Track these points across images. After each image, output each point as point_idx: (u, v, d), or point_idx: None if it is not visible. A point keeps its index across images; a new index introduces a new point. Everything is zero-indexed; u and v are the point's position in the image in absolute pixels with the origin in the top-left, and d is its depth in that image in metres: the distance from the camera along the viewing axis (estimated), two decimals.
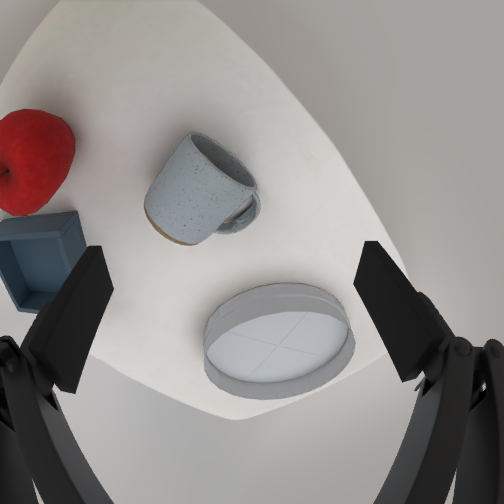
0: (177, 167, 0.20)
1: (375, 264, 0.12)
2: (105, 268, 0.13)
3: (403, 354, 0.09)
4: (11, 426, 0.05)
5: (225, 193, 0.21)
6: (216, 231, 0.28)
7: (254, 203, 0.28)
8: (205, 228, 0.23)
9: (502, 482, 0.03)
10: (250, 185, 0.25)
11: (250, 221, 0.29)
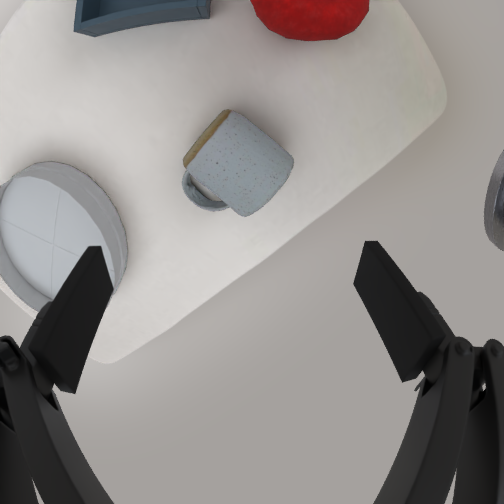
0: (272, 156, 0.23)
1: (375, 264, 0.12)
2: (105, 268, 0.13)
3: (403, 354, 0.09)
4: (11, 426, 0.05)
5: (250, 201, 0.24)
6: (186, 174, 0.27)
7: (213, 203, 0.30)
8: (209, 179, 0.23)
9: (502, 482, 0.03)
10: None
11: (195, 202, 0.30)
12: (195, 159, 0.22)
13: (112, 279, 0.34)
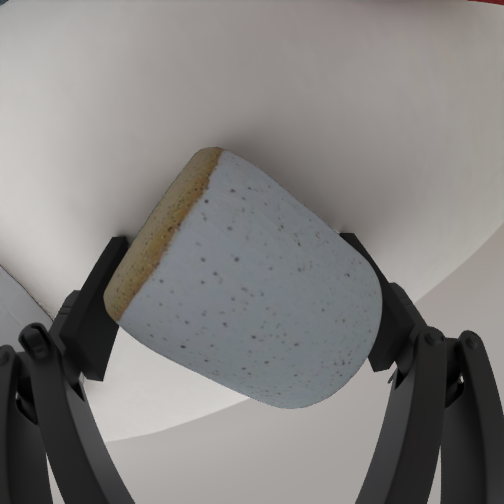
0: (344, 305, 0.08)
1: None
2: None
3: (374, 343, 0.10)
4: (31, 418, 0.06)
5: (276, 402, 0.09)
6: None
7: None
8: (172, 360, 0.08)
9: (490, 478, 0.03)
10: None
11: None
12: (123, 324, 0.07)
13: None
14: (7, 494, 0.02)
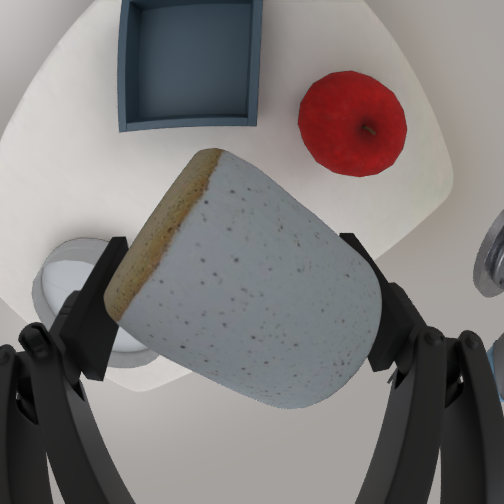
0: (344, 305, 0.08)
1: None
2: None
3: (374, 343, 0.10)
4: (31, 418, 0.06)
5: (275, 402, 0.09)
6: None
7: None
8: (172, 360, 0.08)
9: (490, 478, 0.03)
10: None
11: None
12: (123, 324, 0.07)
13: None
14: (7, 494, 0.02)
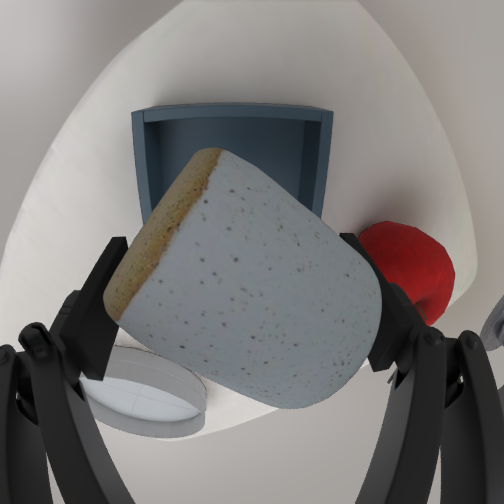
0: (344, 305, 0.08)
1: None
2: None
3: (374, 343, 0.10)
4: (31, 418, 0.06)
5: (275, 402, 0.09)
6: None
7: None
8: (172, 360, 0.08)
9: (490, 478, 0.03)
10: None
11: None
12: (122, 324, 0.07)
13: (192, 413, 0.41)
14: (7, 494, 0.02)
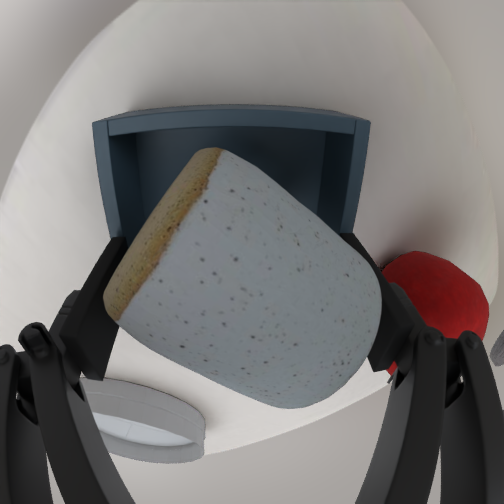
0: (343, 305, 0.08)
1: None
2: None
3: (374, 343, 0.10)
4: (31, 418, 0.06)
5: (275, 402, 0.09)
6: None
7: None
8: None
9: (490, 478, 0.03)
10: None
11: None
12: (122, 323, 0.07)
13: (190, 440, 0.37)
14: (7, 494, 0.02)
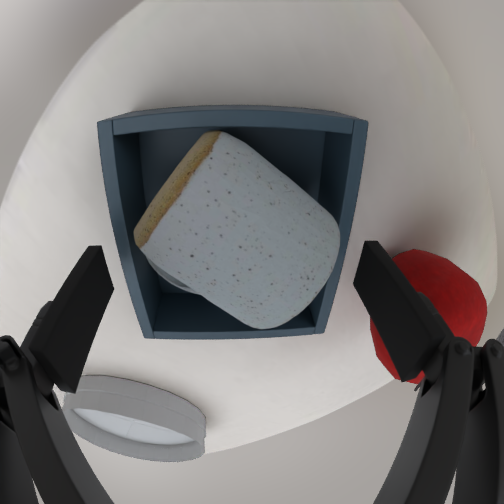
0: (305, 233, 0.12)
1: (375, 264, 0.12)
2: (105, 268, 0.13)
3: (403, 354, 0.09)
4: (11, 426, 0.06)
5: (260, 316, 0.13)
6: None
7: None
8: (182, 277, 0.12)
9: (502, 482, 0.03)
10: None
11: (170, 280, 0.19)
12: (149, 244, 0.11)
13: (191, 438, 0.37)
14: None
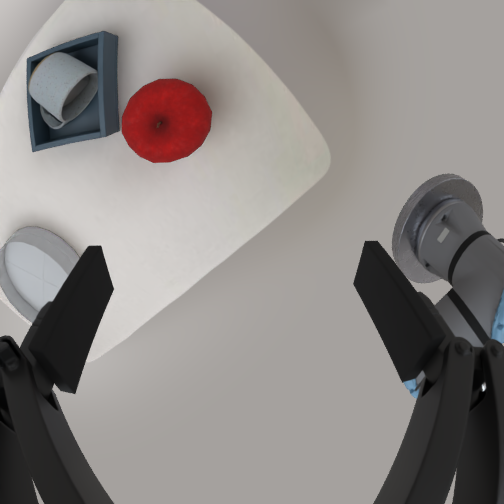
0: (70, 70, 0.21)
1: (375, 264, 0.12)
2: (105, 268, 0.13)
3: (403, 354, 0.09)
4: (11, 426, 0.05)
5: (54, 104, 0.22)
6: (41, 104, 0.26)
7: (60, 124, 0.29)
8: (37, 97, 0.22)
9: (502, 482, 0.03)
10: (67, 118, 0.27)
11: (49, 124, 0.28)
12: (29, 86, 0.21)
13: None
14: None
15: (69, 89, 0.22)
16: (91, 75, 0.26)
